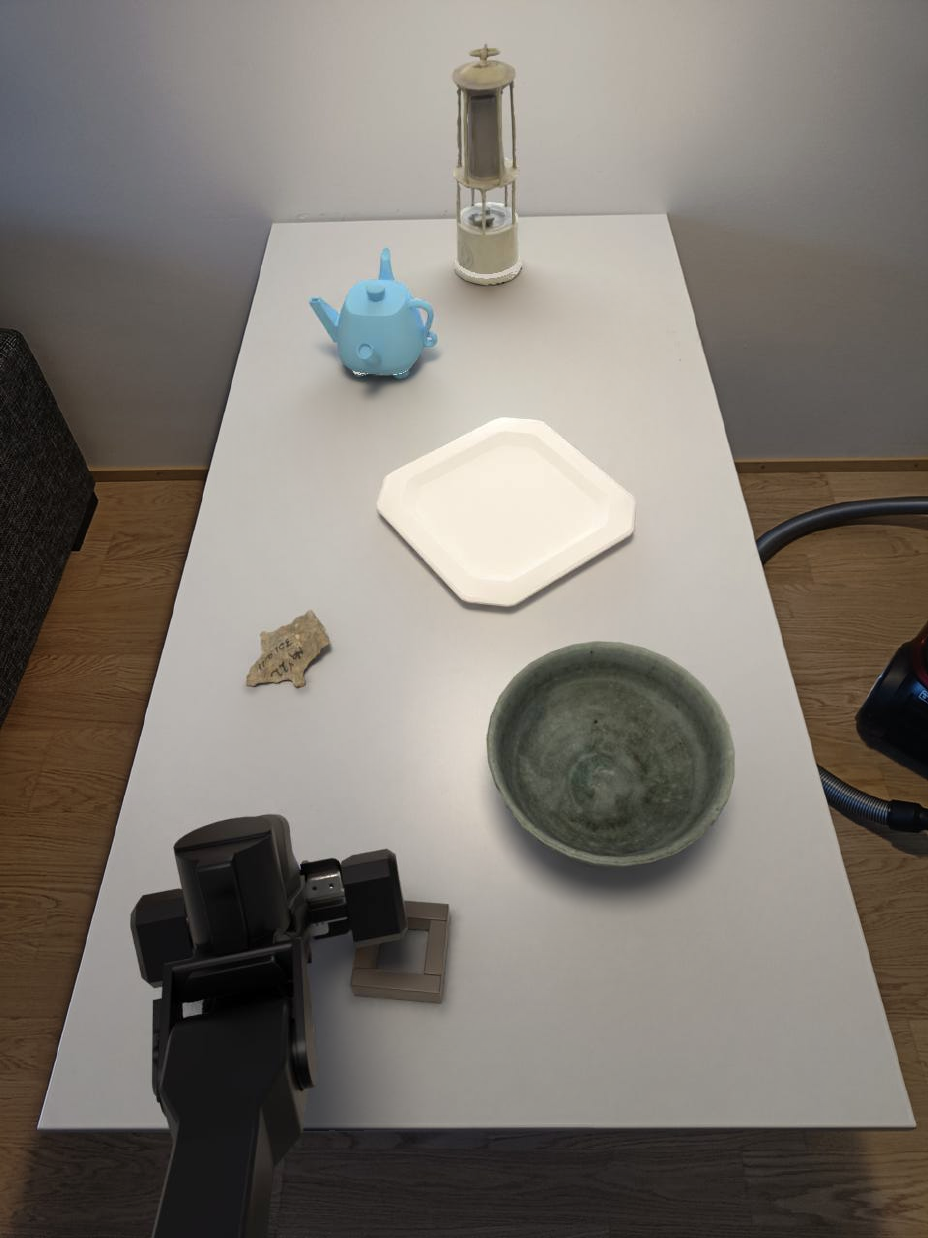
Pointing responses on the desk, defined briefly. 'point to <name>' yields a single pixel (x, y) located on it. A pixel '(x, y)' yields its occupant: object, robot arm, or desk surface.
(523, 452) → the plate
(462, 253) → the lamp
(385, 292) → the teapot
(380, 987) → the frame
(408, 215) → the desk surface
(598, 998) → the desk surface
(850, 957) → the desk surface
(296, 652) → the artifact
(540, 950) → the desk surface
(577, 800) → the bowl
